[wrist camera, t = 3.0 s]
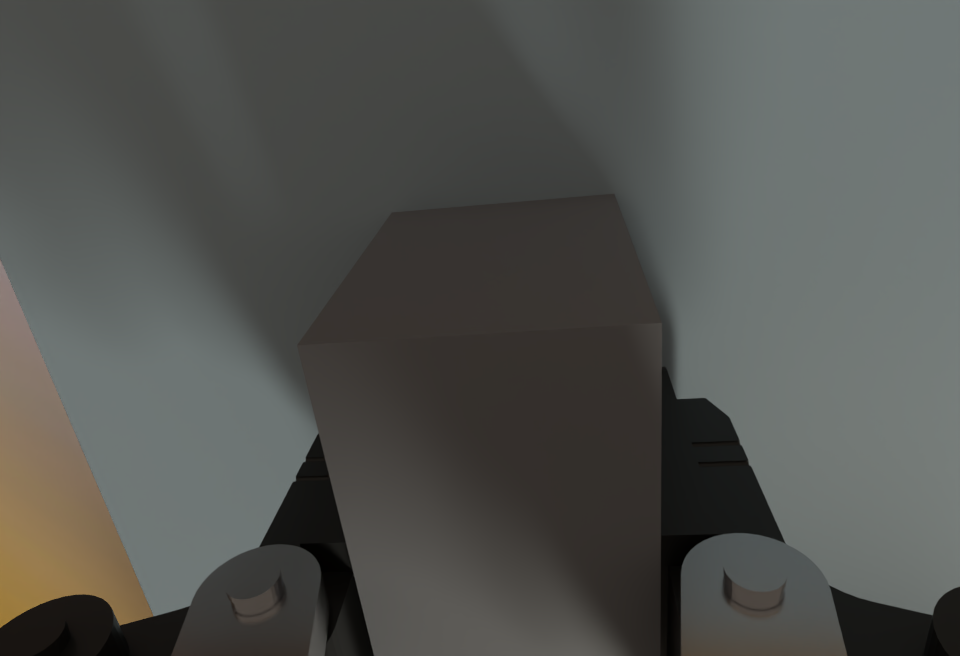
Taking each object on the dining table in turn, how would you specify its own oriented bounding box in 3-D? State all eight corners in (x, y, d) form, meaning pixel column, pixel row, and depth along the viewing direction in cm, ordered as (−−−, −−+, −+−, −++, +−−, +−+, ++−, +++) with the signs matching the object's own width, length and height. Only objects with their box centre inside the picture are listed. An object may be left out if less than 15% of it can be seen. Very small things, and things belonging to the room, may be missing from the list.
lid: (1101, -218, 8) (2081, -597, 3) (905, 656, 14) (1108, 1024, 9) (-28, -54, 10) (-651, -112, 5) (237, 659, 16) (93, 967, 11)
